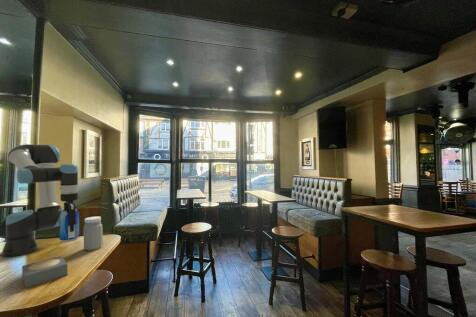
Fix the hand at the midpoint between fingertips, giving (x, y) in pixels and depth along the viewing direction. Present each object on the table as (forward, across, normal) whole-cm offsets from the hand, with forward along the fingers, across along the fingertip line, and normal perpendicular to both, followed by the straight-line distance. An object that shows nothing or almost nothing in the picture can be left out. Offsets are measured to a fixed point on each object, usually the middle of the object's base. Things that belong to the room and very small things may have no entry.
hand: (69, 235), depth 121 cm
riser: (+12, +14, -12) cm, 22 cm away
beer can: (+3, 0, 0) cm, 3 cm away
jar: (+13, -8, +13) cm, 20 cm away
